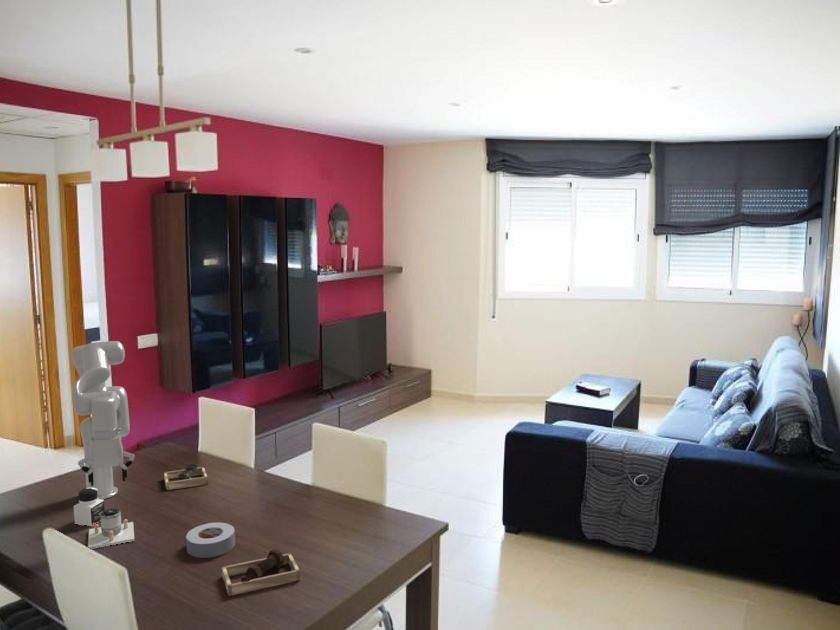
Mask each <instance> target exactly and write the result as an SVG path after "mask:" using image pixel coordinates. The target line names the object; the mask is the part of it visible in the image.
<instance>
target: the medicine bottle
mask: <svg viewBox="0 0 840 630" xmlns="http://www.w3.org/2000/svg"><path fill="white" fill-rule="evenodd" d="M103 511H105V499H102V500H101V499H98V490H97V489H96V488H87V487H86V488H83V489H80V490H79V492H78V503H76V504H75V505H73V514H74V515H73V517H74V524H78V525H77V526H84V525H87V526H86V527H94V524H96V523H97V524H98V523H99V521H100V522H101V517H100V515H101V513H102V512H103Z"/></svg>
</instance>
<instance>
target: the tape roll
mask: <svg viewBox="0 0 840 630" xmlns="http://www.w3.org/2000/svg"><path fill="white" fill-rule="evenodd" d="M185 535H186V536H185V543H186V552H187V554H188V555H190V556H191V557H194V558H199V559H200V558H201V559H202V558H203V559H204V558H205V559H207V558H214V557H218V556H223V555H225V554H227V553H229V552H230V551H232V550H233V548H235V545H236V537H235V535H236V534H235V527H234V526H233V525H232V524H229V523H225V522H208V523H205V524H200V525H198V526H195V527H193V528H192V529H190V530H189V531H187V533H186V534H185Z"/></svg>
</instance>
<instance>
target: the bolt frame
mask: <svg viewBox="0 0 840 630" xmlns="http://www.w3.org/2000/svg"><path fill="white" fill-rule="evenodd" d="M282 555H283V557H284V562H283V564H282V565H281V566H286V565H288V566H289V568H290V571H285V572H281V573H275V574H272V575H271V574H270V575H266V576H261V578H256V579H252V580H249V581H243V582H241V581H239V582H235V583H232V582H231V579H230V577H232V576H233V577H234V576H237V575H238V576H239V575H243V574H244V573H246V572H247V569H248V568H249V566H251V565H258V564H259V563H260V562H262V561H263V560H265V559H267V557H264V558H259V559H253V560H249V561H244V562H238V563H235V564H229V565H225V566H222V567H221V577H222V579H223V582H224V586H225V590H226V592H227V596H228V597H232V596H236V595H240V594H245V593H248V592H253V591H258V590H262V589H267V588H271V587H276V586H280V585H284V584H285V585H286V584H290V583H293V582H298V581H301V570H300V568H299V566H298V564H297V562H296V560H295V559H294V557H293V555H292V553H291V552H287V553H282Z"/></svg>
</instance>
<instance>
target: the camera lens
mask: <svg viewBox="0 0 840 630" xmlns="http://www.w3.org/2000/svg"><path fill="white" fill-rule="evenodd" d="M121 512H122V511H120V510H119V509H118V508H108V509H106V510H105V511H103V512H102V513H101V515H100V517H101V521H100V527H101V530H102V534H103V536H106V537H109V532H110V531H113V536H115V535H117V534H119V533H120V532H121V524H122V513H121Z"/></svg>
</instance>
